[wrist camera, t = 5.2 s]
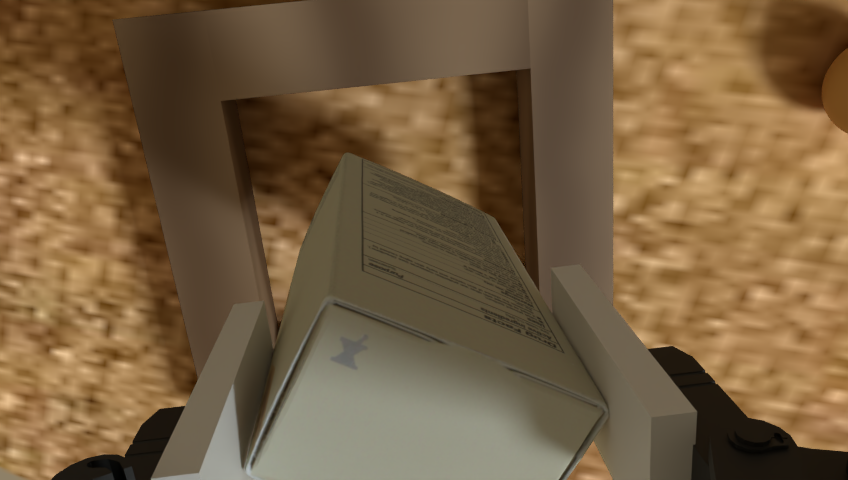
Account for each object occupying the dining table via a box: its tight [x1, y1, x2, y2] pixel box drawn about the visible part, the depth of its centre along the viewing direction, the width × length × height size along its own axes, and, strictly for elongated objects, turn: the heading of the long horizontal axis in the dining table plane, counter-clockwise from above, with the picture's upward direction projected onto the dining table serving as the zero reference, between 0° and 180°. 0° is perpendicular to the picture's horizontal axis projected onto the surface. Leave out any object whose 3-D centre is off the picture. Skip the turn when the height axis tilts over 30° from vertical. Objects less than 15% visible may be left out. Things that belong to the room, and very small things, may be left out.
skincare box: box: [245, 153, 609, 480], centre depth 18 cm, size 6×4×12 cm
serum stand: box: [113, 0, 613, 379], centre depth 26 cm, size 17×17×2 cm
